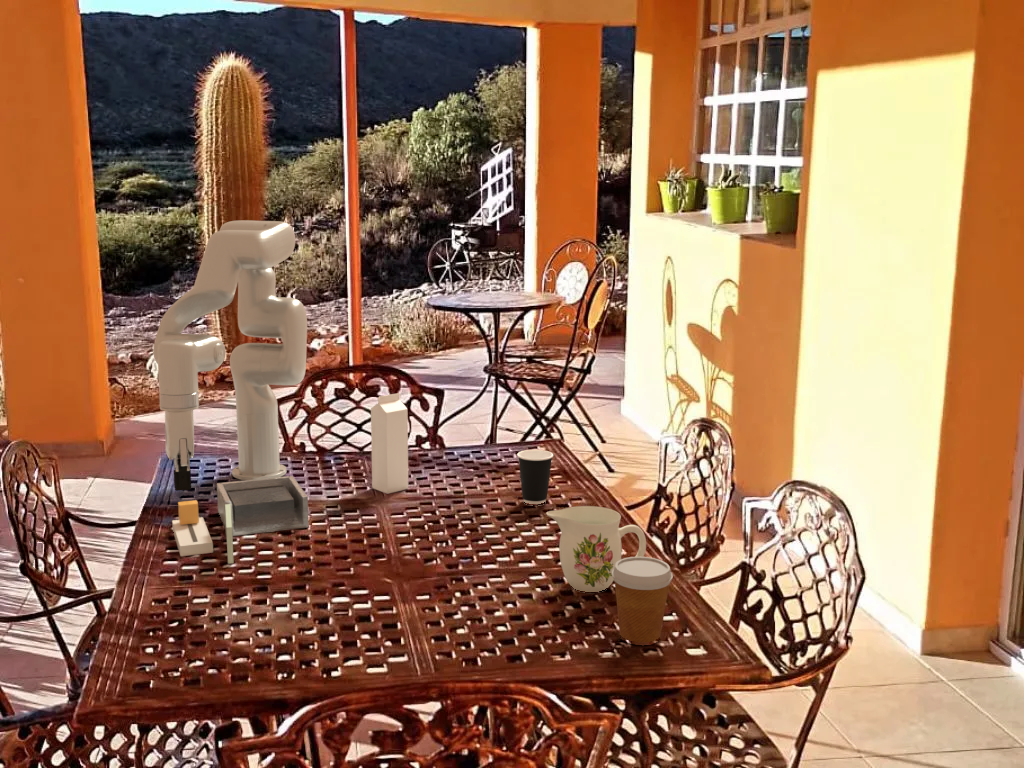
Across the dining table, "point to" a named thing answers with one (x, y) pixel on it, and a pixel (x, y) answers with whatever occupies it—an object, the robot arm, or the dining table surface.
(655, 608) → the disposable coffee cup
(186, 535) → the fader panel
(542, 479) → the dixie cup
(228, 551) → the door
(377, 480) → the milk
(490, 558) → the dining table surface
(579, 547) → the pitcher
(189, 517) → the fader knob
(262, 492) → the grey open tray
